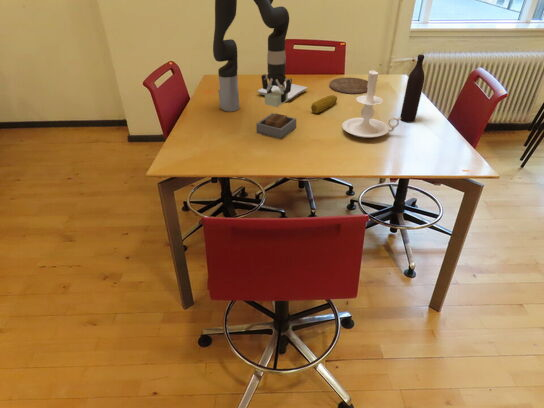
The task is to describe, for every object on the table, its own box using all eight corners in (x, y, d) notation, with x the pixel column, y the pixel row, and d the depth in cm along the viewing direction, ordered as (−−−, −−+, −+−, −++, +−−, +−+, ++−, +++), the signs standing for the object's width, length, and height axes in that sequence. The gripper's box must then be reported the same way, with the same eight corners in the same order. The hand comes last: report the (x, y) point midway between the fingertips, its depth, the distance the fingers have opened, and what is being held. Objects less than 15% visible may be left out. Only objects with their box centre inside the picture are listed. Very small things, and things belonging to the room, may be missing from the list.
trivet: (376, 94, 213) (376, 91, 211) (331, 95, 213) (332, 91, 212) (367, 80, 233) (368, 77, 232) (327, 80, 233) (327, 77, 232)
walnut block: (265, 130, 173) (265, 120, 170) (275, 123, 179) (275, 113, 176) (277, 133, 170) (277, 122, 167) (286, 125, 176) (286, 115, 173)
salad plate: (308, 92, 216) (308, 86, 214) (289, 104, 202) (289, 97, 200) (276, 85, 226) (276, 80, 224) (256, 96, 211) (256, 90, 209)
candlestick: (398, 146, 162) (412, 80, 145) (340, 141, 166) (347, 76, 149) (396, 126, 178) (408, 65, 161) (342, 122, 182) (349, 62, 166)
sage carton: (265, 104, 166) (264, 95, 163) (276, 98, 172) (276, 89, 169) (276, 107, 163) (276, 98, 160) (287, 100, 169) (287, 91, 166)
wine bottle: (416, 118, 185) (430, 54, 168) (413, 123, 180) (428, 58, 162) (401, 115, 188) (414, 52, 170) (398, 121, 182) (411, 56, 165)
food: (318, 116, 188) (319, 104, 185) (308, 113, 191) (309, 102, 188) (339, 103, 202) (340, 92, 199) (329, 101, 205) (330, 90, 201)
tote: (256, 132, 173) (256, 123, 170) (272, 121, 183) (272, 113, 180) (281, 139, 167) (281, 129, 165) (296, 127, 177) (296, 118, 175)
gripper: (256, 61, 157) (258, 100, 167) (287, 65, 151) (286, 106, 161) (266, 56, 162) (266, 95, 172) (296, 61, 156) (295, 100, 166)
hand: (276, 100), depth 167 cm, fingers closed on sage carton, 6 cm apart
